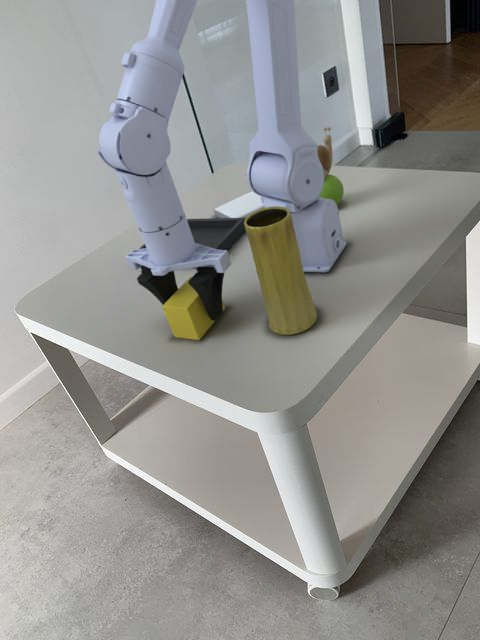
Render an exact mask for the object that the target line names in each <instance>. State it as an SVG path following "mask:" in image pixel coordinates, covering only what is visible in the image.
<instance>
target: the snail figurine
mask: <svg viewBox="0 0 480 640" xmlns="http://www.w3.org/2000/svg"><path fill="white" fill-rule="evenodd" d="M331 130H332V129H331V127H330V126H328V127H326V126H324V127H323V131H324V132H327V131H328V133H329V134H327V133H325V135H324V137H323V143H324V145H322V144H319V145H317V150H318V157H319V160H320V163H321V165H322V167H323V170H324V184H323V188H322V191H321V193H320V195H319V197H322V198H325V199H332V200H334V201H335V203H336V204H337V205H339V203H341V201H342V200H343V197H344V192H345V191H344V185H343V182H342V181H341V180H340V179H339V178H338V177H337V176H336V175H334V174H330V172H331V169H332V167H333V146H332V139H333V137H332V136H331Z"/></svg>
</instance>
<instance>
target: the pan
mask: <svg viewBox="0 0 480 640" xmlns="http://www.w3.org/2000/svg"><path fill="white" fill-rule="evenodd" d="M186 219H187V222H188V225H189V227H190V230H191V233H192V236H193V239H194V242H195V243H197V244H200V245H204V246H207V247H210V248H214V249H217V250H227V251H229V250H230V249H231V248H232V247H233V246H234V245H235V244H236V242H237V241H238V240H239V239H240V238H241V237H242V236H243V235H244V234H245V233H246V229H245V225H244V221H245V219H246V218H218V217H215V218H213V217H211V218H210V217H209V218H186ZM144 248H146V245H145V243H143V244H142V245H141V246H140V247H139V248H138V249H144Z"/></svg>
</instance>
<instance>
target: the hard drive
mask: <svg viewBox="0 0 480 640" xmlns="http://www.w3.org/2000/svg"><path fill="white" fill-rule="evenodd" d="M263 208H265V206H264V204H263V203H262V200H261V196H260V195H258V194H256V193H254V192H253V191H252V190H251V191H249V192H248V193H245V194H244V195H243V194H242V195H241V196H238V197H237V198H235V199H232V200H230V201H228V202H225V203H224V204H221V205H220V206H218V207H215V208H213V213H214V216H215V218H247V217H248V216H249V215H250V214H252V213H254V212H255V211H258V210H260V209H263Z"/></svg>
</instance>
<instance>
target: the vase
mask: <svg viewBox="0 0 480 640" xmlns="http://www.w3.org/2000/svg"><path fill="white" fill-rule="evenodd" d="M244 225H245V229H246V231H245V233H246V237H247V240H248V243H249V246H250V250H251V254H252V258H253V262H254V266H255V269H256V274H257V277H258V281H259V286H260V290H261V294H262V298H263V302H264V307H265V310H266V314H267V315H266V316H267V318H268V325H269V328H270V330H271V331H272V332H273V333H275V334H278V335H283V336H292V335H297V334H301V333H303V332H305V331H307V330H309V329H310V328H311V327H313V325H314V324H315V323H316V321H317V319H318V312H317V309H316V307H315V304H314V300H313V297H312V294H311V290H310V287H309V285H308V281H307V278H306V274H305V272H304V271H303V267H302V262H301V256H300V252H299V248H298V243H297V239H296V234H295V230H294V225H293V221H292V216H291V213H290V211H289V210H288V209H287V208H285V207H279V206H274V207H267V208H263V209H260V210H258V211H255V212H254V213H252V214H250V215H249V216H248V217H247V218H246V219H245V221H244Z"/></svg>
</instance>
